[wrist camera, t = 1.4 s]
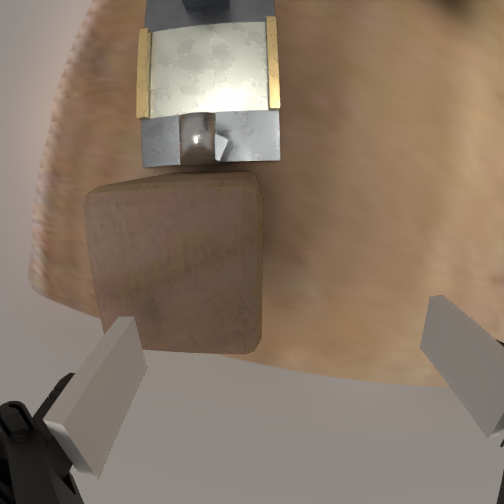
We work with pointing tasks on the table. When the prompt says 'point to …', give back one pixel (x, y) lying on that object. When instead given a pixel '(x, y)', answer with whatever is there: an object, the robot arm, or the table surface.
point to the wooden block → (180, 259)
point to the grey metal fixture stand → (208, 82)
